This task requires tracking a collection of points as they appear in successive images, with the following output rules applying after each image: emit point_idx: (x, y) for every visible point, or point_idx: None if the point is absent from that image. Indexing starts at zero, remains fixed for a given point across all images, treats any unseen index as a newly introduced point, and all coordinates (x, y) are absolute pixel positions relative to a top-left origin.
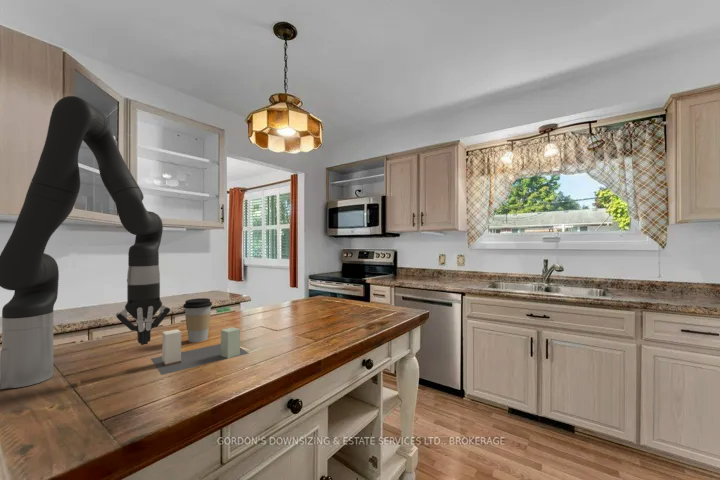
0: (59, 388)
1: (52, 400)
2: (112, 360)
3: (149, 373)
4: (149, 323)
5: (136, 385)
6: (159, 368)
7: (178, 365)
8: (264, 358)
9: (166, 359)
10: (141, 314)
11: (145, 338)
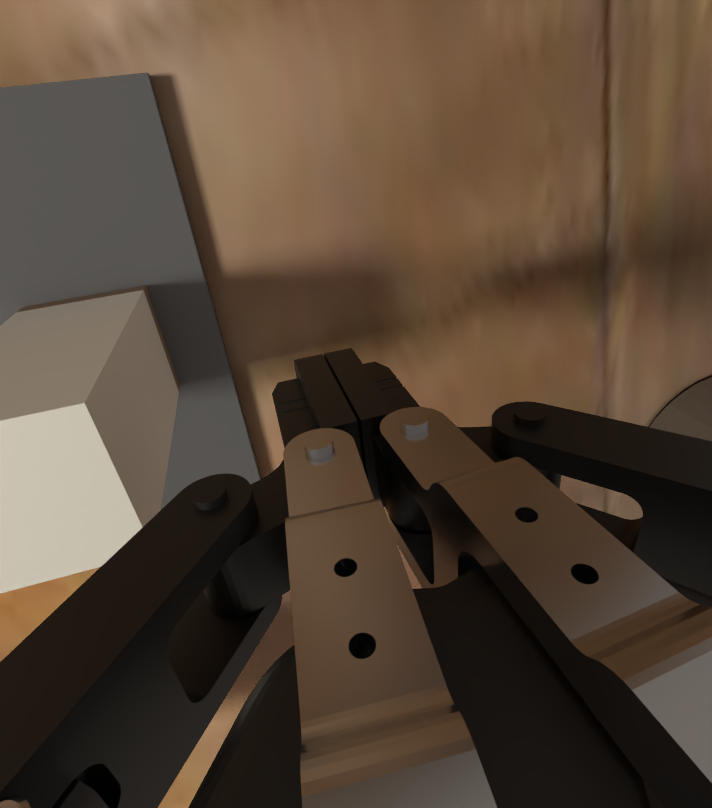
0: (646, 274)
1: (701, 98)
2: None
3: (251, 239)
4: (320, 504)
5: (324, 9)
6: (185, 260)
7: (32, 246)
8: None
9: (129, 302)
10: (578, 617)
11: (327, 377)
